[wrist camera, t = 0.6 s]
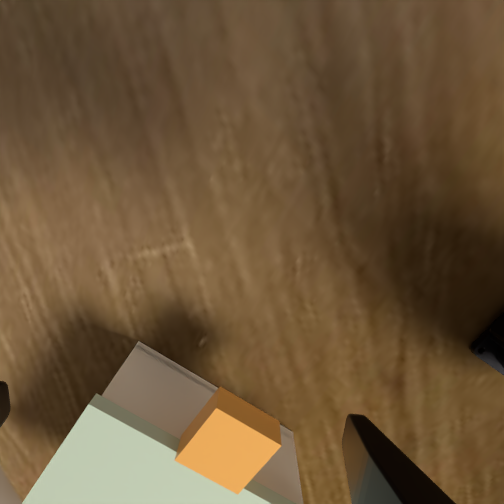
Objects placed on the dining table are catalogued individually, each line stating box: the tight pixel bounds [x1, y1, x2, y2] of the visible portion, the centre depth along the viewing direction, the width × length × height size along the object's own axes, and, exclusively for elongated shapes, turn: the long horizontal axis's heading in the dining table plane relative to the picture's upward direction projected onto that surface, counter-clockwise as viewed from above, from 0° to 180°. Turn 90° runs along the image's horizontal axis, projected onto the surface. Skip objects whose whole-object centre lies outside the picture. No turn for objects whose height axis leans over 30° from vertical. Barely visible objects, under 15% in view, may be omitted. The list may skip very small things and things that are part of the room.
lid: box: [22, 386, 296, 504], centre depth 18 cm, size 15×16×2 cm
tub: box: [102, 341, 303, 504], centre depth 22 cm, size 14×11×6 cm
